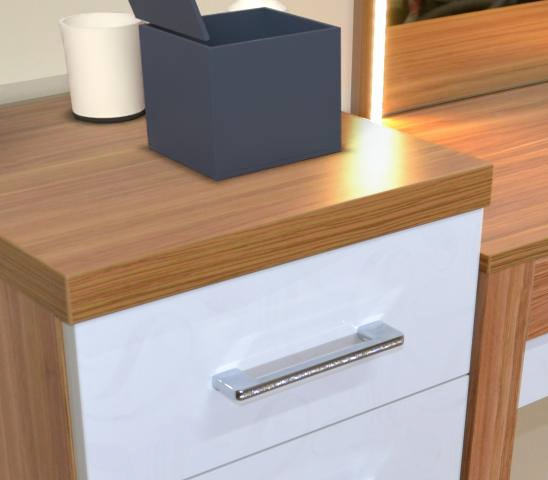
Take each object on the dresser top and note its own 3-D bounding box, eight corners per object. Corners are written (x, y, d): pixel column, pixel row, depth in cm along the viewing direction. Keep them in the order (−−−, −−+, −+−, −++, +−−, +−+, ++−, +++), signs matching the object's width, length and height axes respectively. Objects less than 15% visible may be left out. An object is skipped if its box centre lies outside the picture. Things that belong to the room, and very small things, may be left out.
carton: (216, 181, 109) (209, 48, 103) (148, 147, 118) (138, 24, 112) (341, 151, 117) (341, 27, 112) (268, 122, 126) (265, 6, 121)
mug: (92, 129, 123) (82, 32, 119) (55, 111, 130) (44, 18, 125) (180, 111, 130) (174, 19, 125) (141, 95, 136) (133, 6, 131)
